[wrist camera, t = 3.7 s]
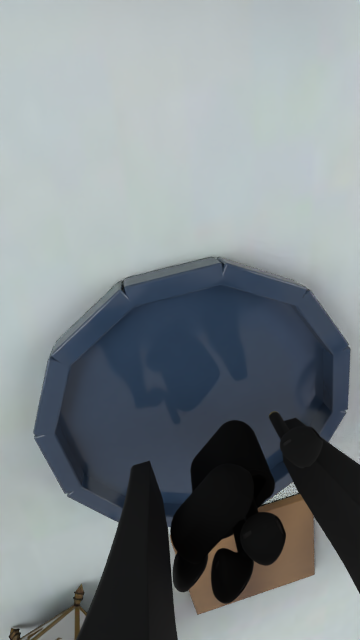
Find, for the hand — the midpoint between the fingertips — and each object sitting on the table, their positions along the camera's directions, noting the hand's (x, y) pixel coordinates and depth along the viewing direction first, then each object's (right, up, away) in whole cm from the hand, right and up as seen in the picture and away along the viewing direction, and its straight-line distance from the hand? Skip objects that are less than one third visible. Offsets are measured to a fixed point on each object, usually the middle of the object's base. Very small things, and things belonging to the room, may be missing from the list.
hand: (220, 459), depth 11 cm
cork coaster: (+3, -10, +8) cm, 13 cm away
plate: (-1, +1, +3) cm, 3 cm away
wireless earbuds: (0, 0, +1) cm, 1 cm away
